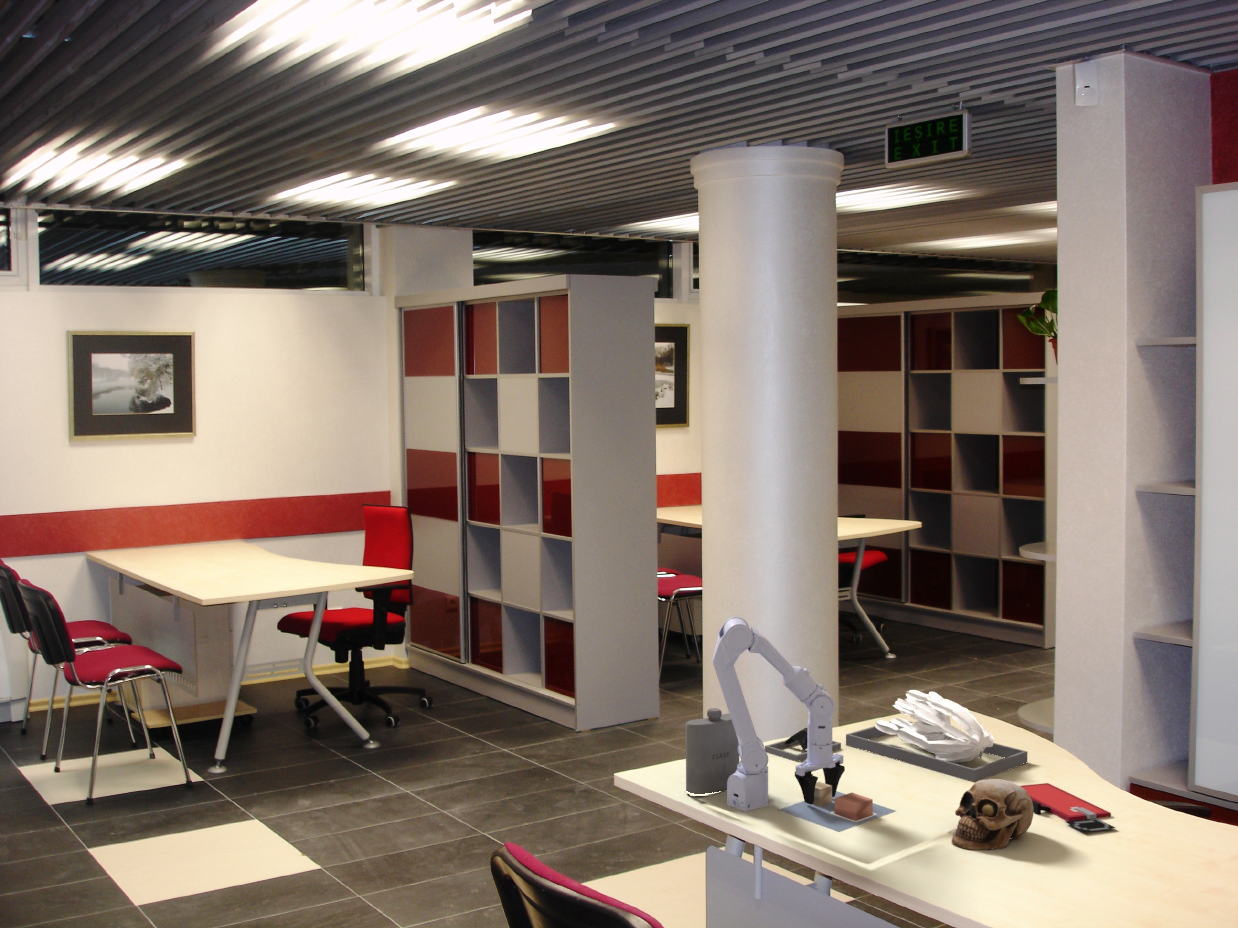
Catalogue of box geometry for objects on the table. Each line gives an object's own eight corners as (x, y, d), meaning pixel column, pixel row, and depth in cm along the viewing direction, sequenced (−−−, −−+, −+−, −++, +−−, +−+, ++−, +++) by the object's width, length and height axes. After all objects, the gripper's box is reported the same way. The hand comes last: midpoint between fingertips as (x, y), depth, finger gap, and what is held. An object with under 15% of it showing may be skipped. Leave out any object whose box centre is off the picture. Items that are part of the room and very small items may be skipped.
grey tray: (974, 781, 289) (974, 770, 289) (845, 744, 320) (845, 734, 320) (1027, 762, 304) (1027, 751, 304) (899, 729, 335) (899, 718, 335)
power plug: (784, 740, 323) (815, 721, 316) (799, 765, 321) (830, 746, 314) (774, 746, 318) (805, 727, 312) (788, 771, 316) (820, 752, 310)
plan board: (838, 836, 254) (838, 831, 254) (777, 813, 268) (777, 808, 268) (896, 814, 267) (896, 810, 266) (835, 794, 280) (835, 790, 280)
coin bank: (948, 845, 248) (952, 782, 248) (960, 827, 263) (963, 767, 264) (1026, 860, 241) (1030, 795, 242) (1033, 839, 257) (1037, 778, 257)
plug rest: (797, 761, 306) (797, 755, 306) (764, 751, 315) (764, 745, 315) (840, 748, 317) (840, 742, 317) (808, 738, 326) (808, 733, 326)
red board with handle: (1076, 836, 253) (1134, 830, 257) (1076, 823, 253) (1134, 817, 257) (994, 793, 282) (1047, 788, 286) (994, 782, 282) (1048, 777, 286)
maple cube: (820, 806, 270) (820, 789, 269) (807, 801, 273) (807, 784, 272) (831, 802, 272) (832, 785, 272) (818, 797, 275) (818, 781, 275)
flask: (696, 799, 278) (695, 716, 276) (681, 792, 283) (681, 711, 281) (745, 788, 286) (745, 707, 284) (731, 781, 290) (730, 702, 289)
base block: (855, 820, 260) (855, 805, 260) (834, 813, 265) (834, 798, 265) (872, 814, 264) (872, 799, 264) (851, 807, 269) (851, 792, 269)
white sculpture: (1019, 730, 300) (936, 696, 332) (971, 699, 294) (891, 667, 326) (988, 789, 298) (908, 749, 330) (939, 759, 291) (862, 720, 324)
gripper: (812, 751, 264) (812, 810, 265) (853, 739, 273) (853, 796, 274) (788, 744, 269) (788, 802, 270) (830, 733, 279) (830, 789, 279)
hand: (819, 799), depth 272 cm, fingers open, 7 cm apart
